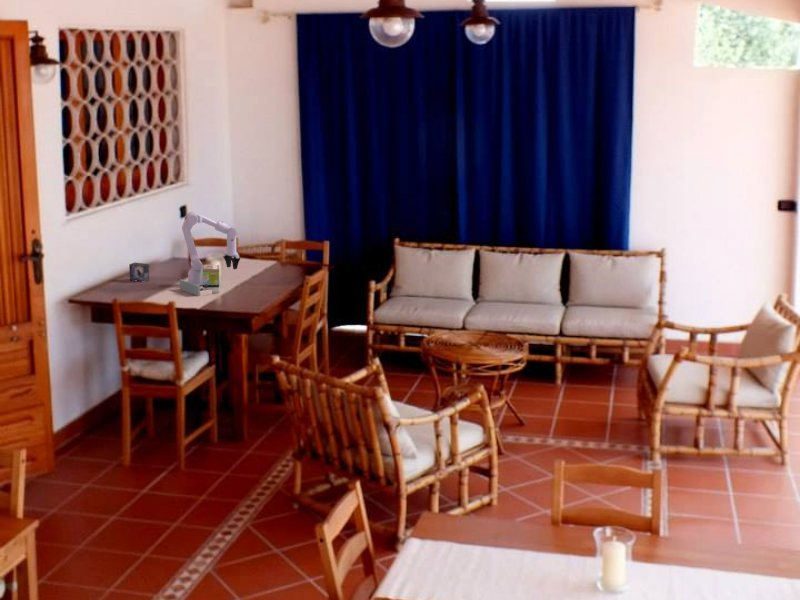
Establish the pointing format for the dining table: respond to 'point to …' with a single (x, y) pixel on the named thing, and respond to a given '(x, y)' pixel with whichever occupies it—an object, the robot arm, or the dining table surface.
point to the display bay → (193, 288)
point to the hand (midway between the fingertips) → (231, 268)
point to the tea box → (211, 278)
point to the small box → (139, 271)
